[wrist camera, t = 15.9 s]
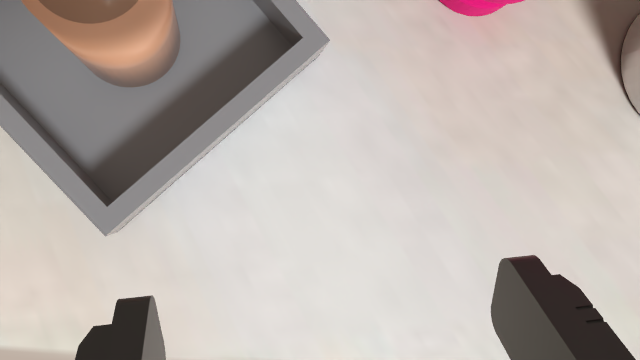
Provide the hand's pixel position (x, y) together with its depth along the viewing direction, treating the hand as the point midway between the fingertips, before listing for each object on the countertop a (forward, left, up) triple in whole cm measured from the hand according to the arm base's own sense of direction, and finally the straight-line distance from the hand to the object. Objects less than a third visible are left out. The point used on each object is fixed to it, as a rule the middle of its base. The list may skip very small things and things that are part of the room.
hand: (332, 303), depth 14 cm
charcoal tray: (-2, -13, -20) cm, 24 cm away
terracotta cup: (-2, -13, -19) cm, 23 cm away
